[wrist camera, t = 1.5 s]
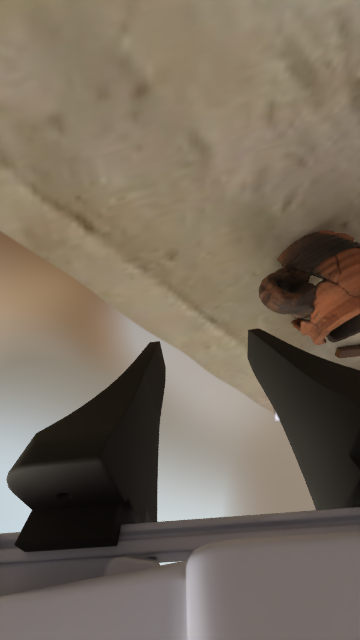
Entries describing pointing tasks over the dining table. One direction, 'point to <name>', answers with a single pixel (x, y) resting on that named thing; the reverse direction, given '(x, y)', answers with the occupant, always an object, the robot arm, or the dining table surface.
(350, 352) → the walnut spoon
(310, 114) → the dining table surface
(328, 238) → the pottery shards
